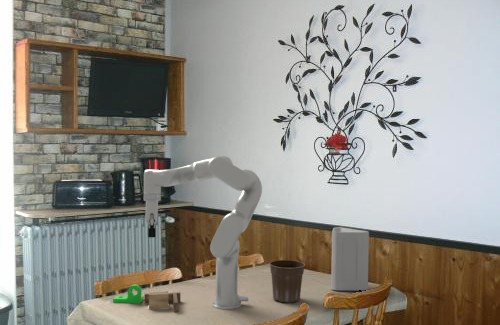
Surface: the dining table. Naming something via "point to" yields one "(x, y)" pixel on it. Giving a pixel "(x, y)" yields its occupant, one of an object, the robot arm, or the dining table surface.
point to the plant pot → (286, 280)
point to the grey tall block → (349, 259)
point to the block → (158, 299)
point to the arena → (172, 298)
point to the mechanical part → (130, 296)
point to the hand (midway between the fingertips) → (151, 235)
